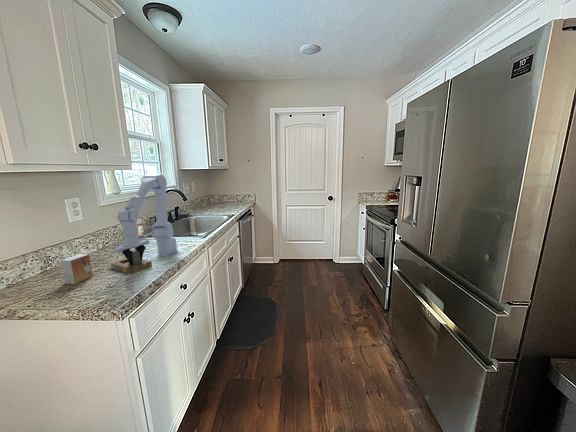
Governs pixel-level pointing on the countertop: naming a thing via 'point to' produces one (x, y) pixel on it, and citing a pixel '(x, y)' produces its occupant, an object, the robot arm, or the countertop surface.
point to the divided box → (125, 267)
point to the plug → (136, 258)
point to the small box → (76, 268)
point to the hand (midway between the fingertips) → (135, 262)
